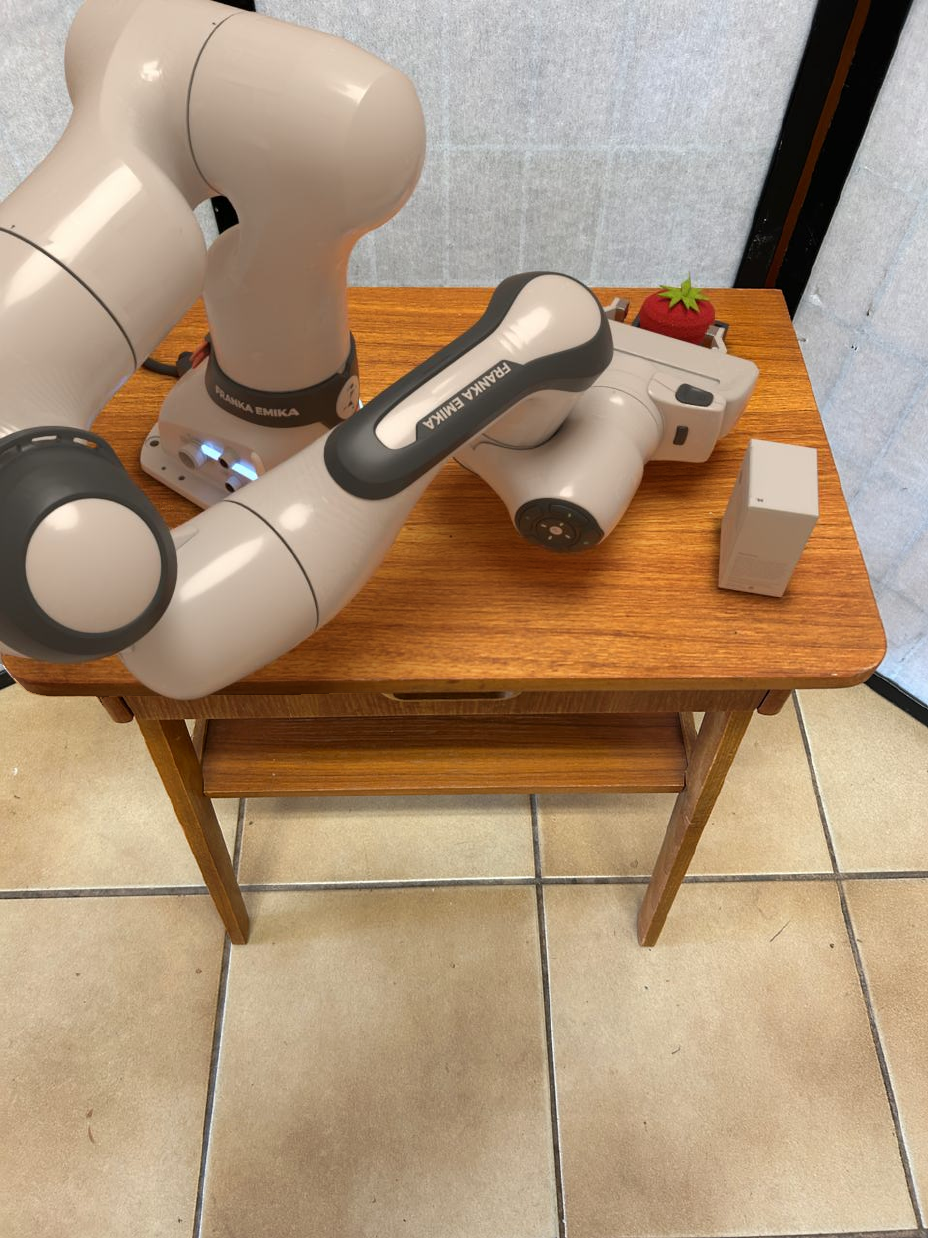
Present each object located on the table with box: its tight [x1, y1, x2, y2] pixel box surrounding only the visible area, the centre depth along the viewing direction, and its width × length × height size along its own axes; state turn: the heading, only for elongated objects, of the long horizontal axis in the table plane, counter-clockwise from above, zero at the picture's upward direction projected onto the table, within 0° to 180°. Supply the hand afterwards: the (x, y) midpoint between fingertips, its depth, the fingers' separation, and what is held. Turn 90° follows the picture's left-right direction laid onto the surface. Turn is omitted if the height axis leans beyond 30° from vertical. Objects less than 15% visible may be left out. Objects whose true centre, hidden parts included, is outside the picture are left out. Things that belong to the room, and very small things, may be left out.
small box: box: [717, 438, 820, 598], centre depth 80 cm, size 8×6×10 cm
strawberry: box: [638, 270, 716, 345], centre depth 95 cm, size 6×8×10 cm
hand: (668, 318), depth 91 cm, fingers open, 8 cm apart
